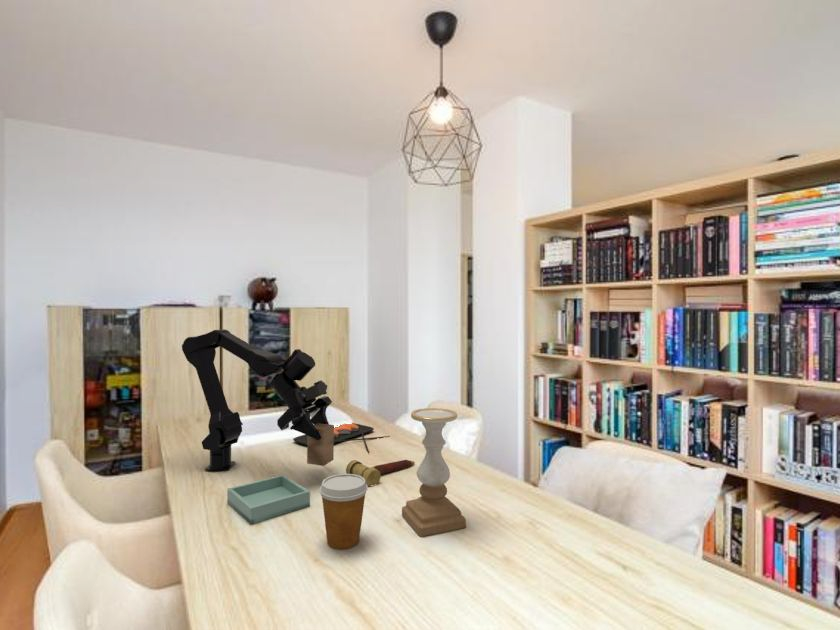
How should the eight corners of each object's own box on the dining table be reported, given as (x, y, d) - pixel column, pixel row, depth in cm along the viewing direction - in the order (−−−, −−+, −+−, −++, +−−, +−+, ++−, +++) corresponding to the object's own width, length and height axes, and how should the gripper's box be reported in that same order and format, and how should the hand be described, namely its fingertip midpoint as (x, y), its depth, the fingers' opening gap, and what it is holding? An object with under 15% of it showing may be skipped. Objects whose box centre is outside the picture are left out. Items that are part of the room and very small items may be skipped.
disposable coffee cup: (375, 534, 94) (375, 476, 94) (353, 558, 85) (354, 494, 85) (334, 526, 97) (334, 470, 97) (309, 548, 88) (309, 487, 88)
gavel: (403, 450, 140) (426, 458, 132) (403, 465, 139) (425, 474, 132) (346, 461, 125) (367, 471, 118) (345, 478, 125) (366, 488, 118)
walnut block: (307, 463, 119) (307, 427, 119) (317, 457, 124) (317, 423, 124) (323, 465, 118) (324, 429, 118) (333, 459, 122) (333, 424, 122)
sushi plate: (349, 426, 180) (349, 417, 180) (409, 440, 162) (409, 429, 162) (289, 444, 156) (289, 433, 156) (352, 462, 139) (352, 450, 138)
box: (227, 503, 108) (227, 488, 108) (283, 488, 117) (283, 474, 117) (250, 524, 97) (250, 508, 97) (309, 506, 107) (309, 491, 106)
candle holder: (400, 514, 103) (401, 409, 102) (444, 507, 107) (445, 405, 107) (419, 537, 93) (421, 420, 92) (467, 527, 97) (468, 416, 96)
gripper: (287, 377, 113) (326, 425, 110) (326, 368, 131) (360, 409, 127) (260, 406, 116) (297, 454, 112) (302, 393, 133) (335, 434, 130)
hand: (325, 436), depth 120 cm, fingers closed on walnut block, 5 cm apart
